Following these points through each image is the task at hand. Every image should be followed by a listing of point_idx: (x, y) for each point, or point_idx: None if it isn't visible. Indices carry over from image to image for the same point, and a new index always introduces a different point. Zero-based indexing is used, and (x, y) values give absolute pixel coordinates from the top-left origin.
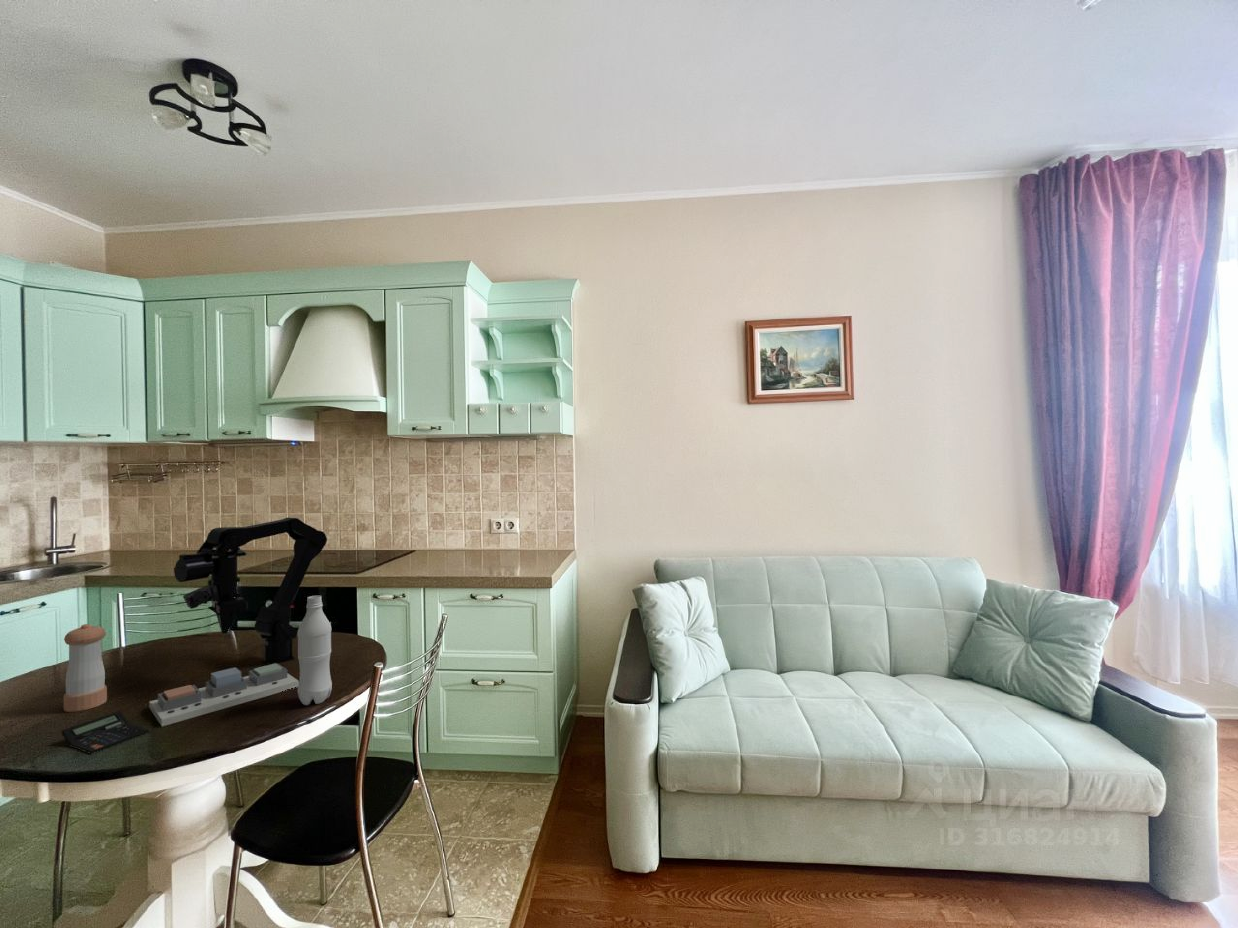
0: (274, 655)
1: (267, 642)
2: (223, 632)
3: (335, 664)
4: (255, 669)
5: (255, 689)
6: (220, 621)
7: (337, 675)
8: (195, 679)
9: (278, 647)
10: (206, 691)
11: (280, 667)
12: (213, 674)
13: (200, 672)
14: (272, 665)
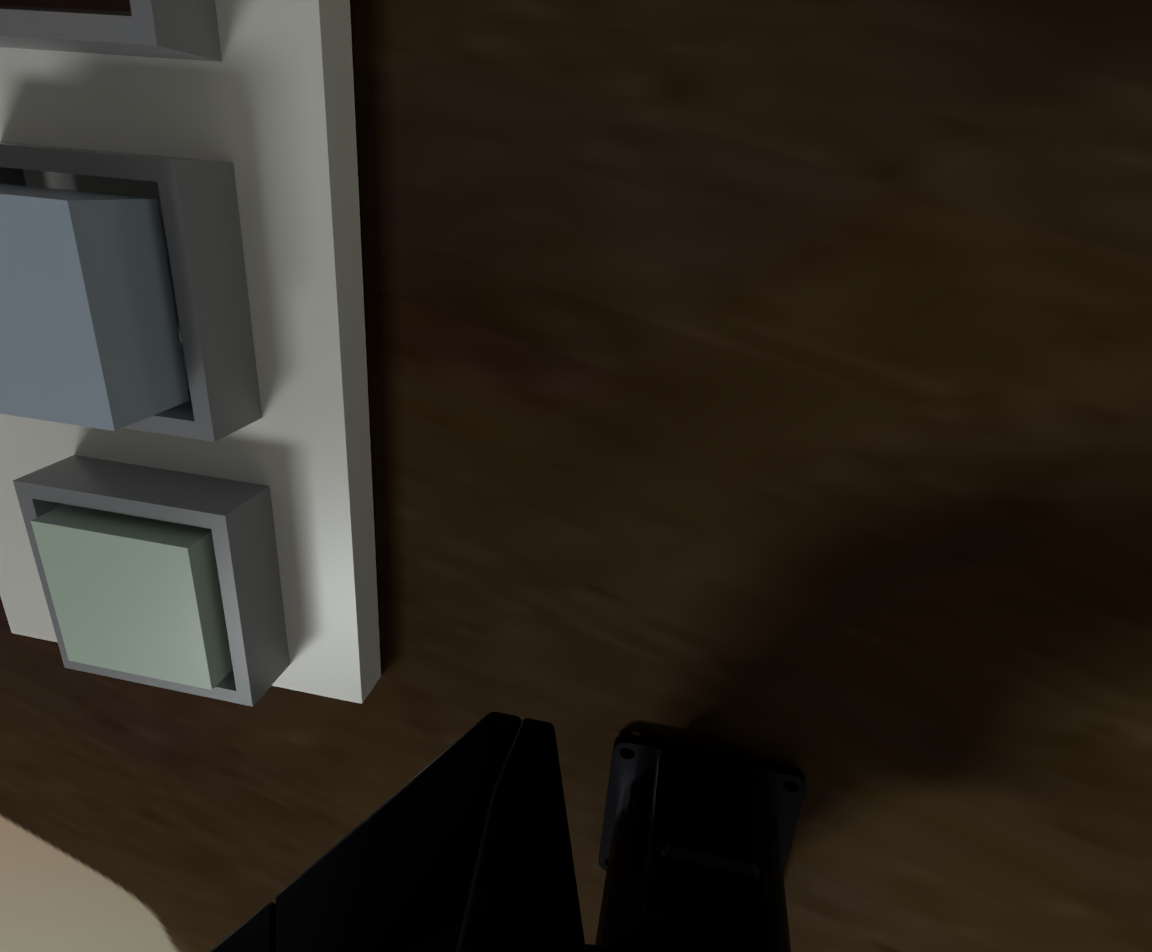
0: (635, 814)
1: (677, 907)
2: (477, 728)
3: (287, 875)
4: (161, 547)
5: (12, 419)
6: (255, 929)
7: (99, 786)
8: (840, 260)
9: (606, 890)
10: (202, 159)
11: (83, 657)
12: (10, 204)
13: (1027, 366)
14: (174, 654)
